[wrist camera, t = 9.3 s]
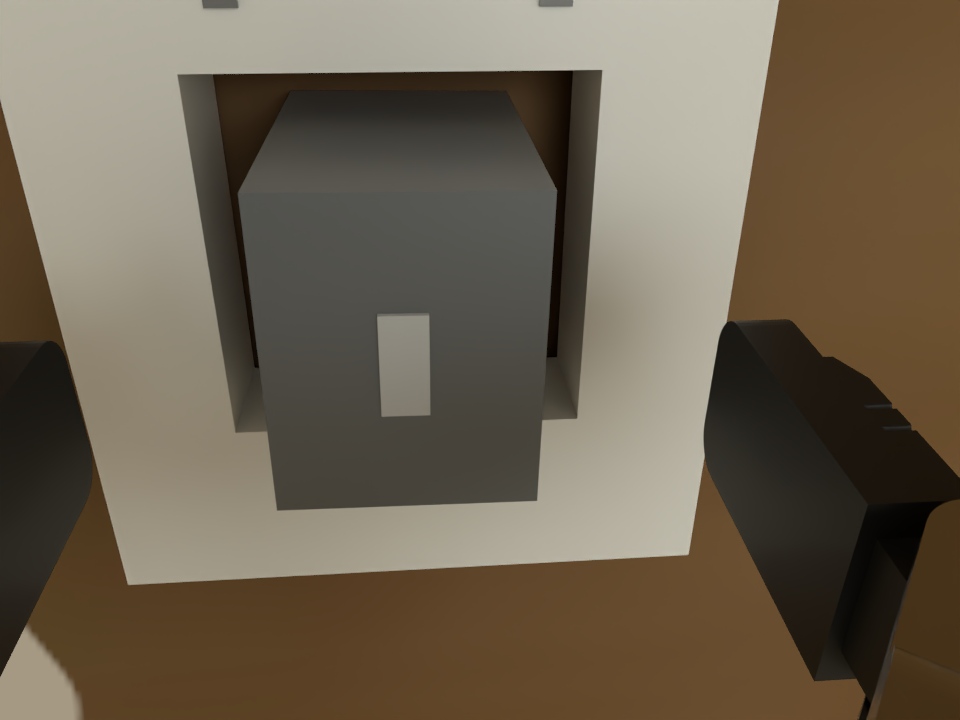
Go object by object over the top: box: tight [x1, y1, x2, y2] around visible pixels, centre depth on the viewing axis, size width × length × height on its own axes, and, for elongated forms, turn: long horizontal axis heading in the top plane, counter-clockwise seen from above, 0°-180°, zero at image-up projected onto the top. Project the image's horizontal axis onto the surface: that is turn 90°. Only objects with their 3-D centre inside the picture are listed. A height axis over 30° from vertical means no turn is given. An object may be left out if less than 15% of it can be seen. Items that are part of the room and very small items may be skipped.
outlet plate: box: [0, 0, 779, 585], centre depth 16 cm, size 14×12×3 cm
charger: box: [238, 90, 557, 511], centre depth 15 cm, size 5×4×6 cm
